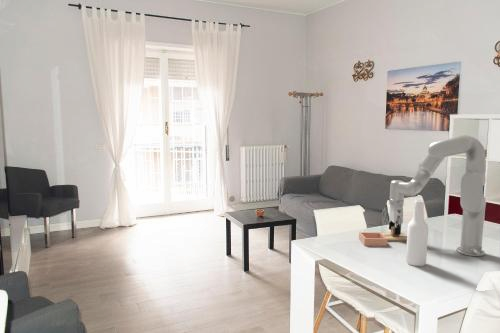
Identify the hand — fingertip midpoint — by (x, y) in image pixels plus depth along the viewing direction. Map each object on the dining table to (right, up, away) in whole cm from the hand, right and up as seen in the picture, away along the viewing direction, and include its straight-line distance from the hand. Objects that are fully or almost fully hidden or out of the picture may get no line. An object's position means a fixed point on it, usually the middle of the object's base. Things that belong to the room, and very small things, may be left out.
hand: (394, 231), depth 225 cm
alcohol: (-4, -9, -38) cm, 39 cm away
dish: (-15, -5, -8) cm, 18 cm away
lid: (0, -3, 0) cm, 3 cm away
